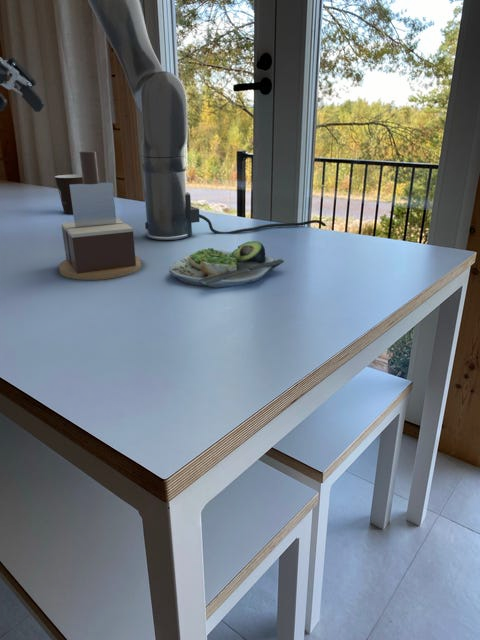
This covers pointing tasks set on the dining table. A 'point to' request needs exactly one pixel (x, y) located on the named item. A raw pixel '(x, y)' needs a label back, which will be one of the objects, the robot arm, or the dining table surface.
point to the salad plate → (225, 266)
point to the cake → (98, 251)
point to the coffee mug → (67, 190)
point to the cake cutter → (92, 195)
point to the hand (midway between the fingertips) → (23, 107)
